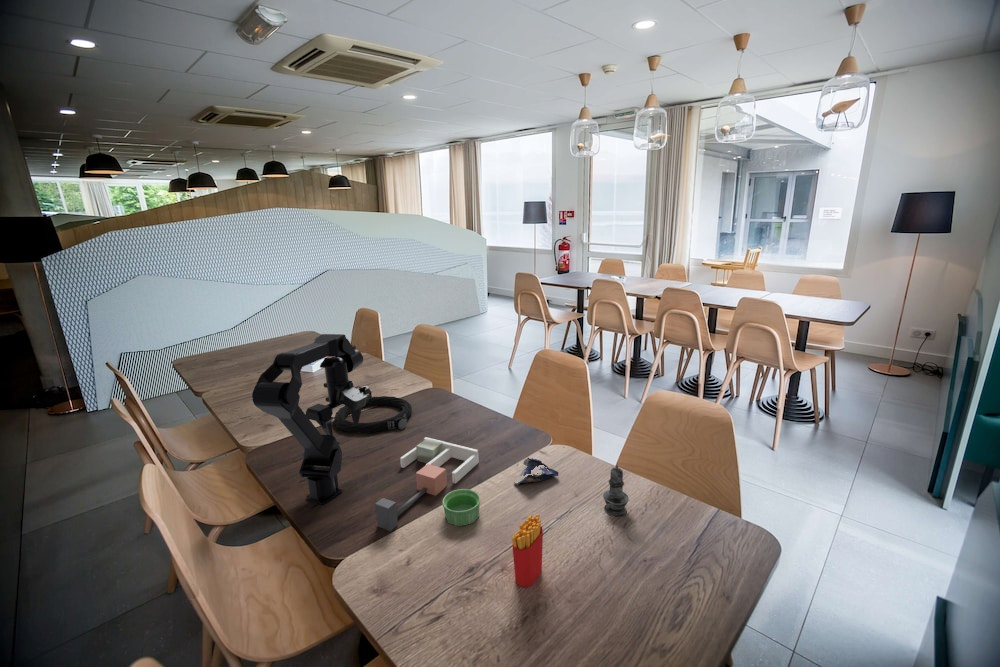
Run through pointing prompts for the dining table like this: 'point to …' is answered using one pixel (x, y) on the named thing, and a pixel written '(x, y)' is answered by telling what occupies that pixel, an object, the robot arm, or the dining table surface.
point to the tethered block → (427, 481)
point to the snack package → (545, 473)
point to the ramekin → (461, 506)
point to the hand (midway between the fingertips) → (343, 431)
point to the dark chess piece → (616, 494)
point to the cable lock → (377, 426)
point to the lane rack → (448, 451)
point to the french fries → (528, 551)
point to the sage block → (428, 450)
